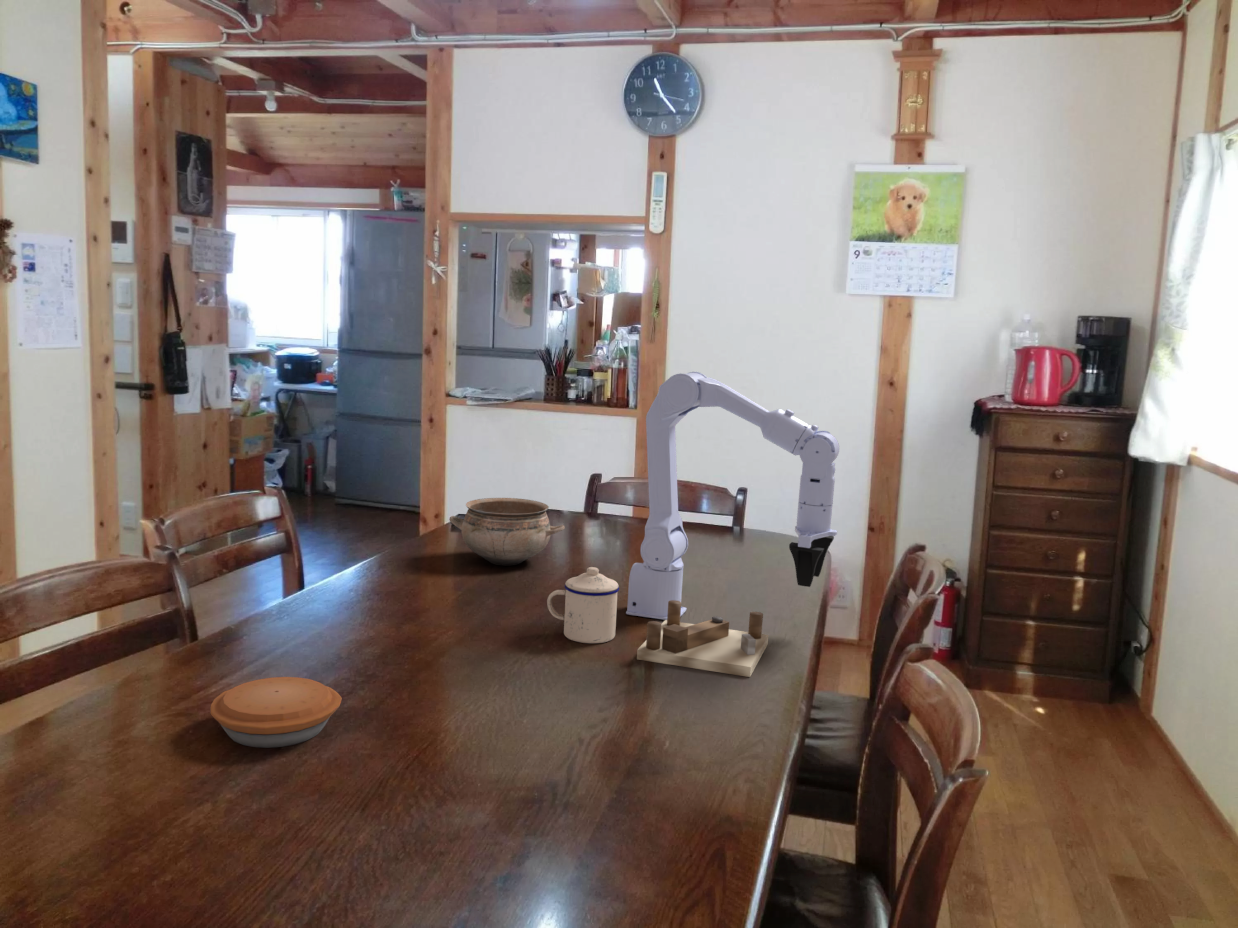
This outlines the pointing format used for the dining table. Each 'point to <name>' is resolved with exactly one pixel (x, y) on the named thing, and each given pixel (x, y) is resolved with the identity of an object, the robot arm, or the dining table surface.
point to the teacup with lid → (588, 607)
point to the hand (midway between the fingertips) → (808, 580)
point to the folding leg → (693, 634)
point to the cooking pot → (506, 529)
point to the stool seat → (708, 646)
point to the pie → (275, 711)
